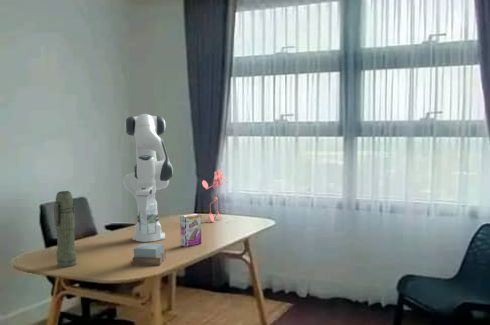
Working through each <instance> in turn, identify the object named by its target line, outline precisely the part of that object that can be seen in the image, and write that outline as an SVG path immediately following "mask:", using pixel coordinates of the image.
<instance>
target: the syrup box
mask: <svg viewBox="0 0 490 325" xmlns="http://www.w3.org/2000/svg"><path fill="white" fill-rule="evenodd" d="M139 227H140V234H145V235H149V234H154V233H156V204H154V203H151V204H150V209H149V210H148V211H147V220H143V215H142V212H139Z"/></svg>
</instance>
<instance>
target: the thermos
mask: <svg viewBox="0 0 490 325" xmlns="http://www.w3.org/2000/svg"><path fill="white" fill-rule="evenodd" d="M75 206H76V205H75V201H74V200H73V195H72V193H71V191H70V190H65V191H64V190H61V191H58V192H57V193H56V196H55V203H54V206H53V213H54V225H55V231H56V242H57V245H56V246H57V247H56V248H57V250H56V262H57V267H58V268H70V267H74V266H75V267H76V265H77V259H78V258H77V249H76V246H75V245H76V244H75V242H76V240H75V239H76V238H75V229H76V222H75V221H76V209H75V208H76V207H75Z"/></svg>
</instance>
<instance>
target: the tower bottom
mask: <svg viewBox="0 0 490 325" xmlns="http://www.w3.org/2000/svg"><path fill="white" fill-rule="evenodd" d="M166 252H167V251H165V250H164V252H163V253H162V254H161V255H159V256H158V257H156V258H149V257H134V256H133V257H132V266H161V265H162V264H163V262H164V261H165V260H166V258H167V257H166V255H167V253H166Z"/></svg>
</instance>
